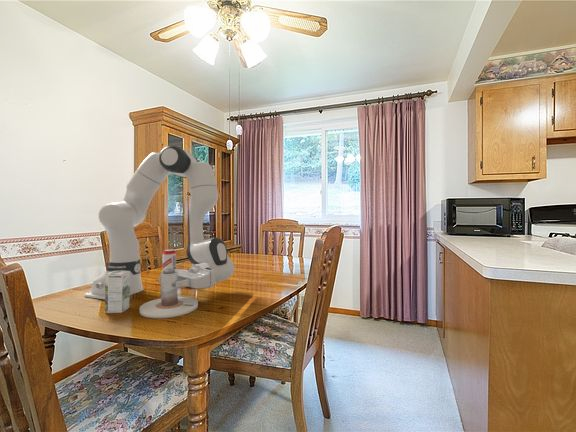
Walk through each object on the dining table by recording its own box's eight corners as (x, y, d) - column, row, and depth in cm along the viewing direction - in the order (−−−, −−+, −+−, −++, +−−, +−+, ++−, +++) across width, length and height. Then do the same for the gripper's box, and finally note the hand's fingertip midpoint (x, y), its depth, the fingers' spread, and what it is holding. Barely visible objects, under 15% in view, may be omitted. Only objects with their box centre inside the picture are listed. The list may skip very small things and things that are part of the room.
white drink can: (157, 306, 103) (157, 271, 103) (166, 301, 109) (166, 268, 108) (172, 306, 102) (172, 271, 102) (180, 301, 108) (180, 268, 107)
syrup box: (113, 311, 107) (112, 270, 106) (130, 310, 107) (129, 270, 107) (104, 316, 101) (104, 274, 101) (123, 316, 102) (122, 273, 101)
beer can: (171, 284, 144) (171, 251, 143) (160, 283, 145) (159, 250, 145) (179, 281, 150) (178, 249, 150) (167, 280, 151) (167, 248, 151)
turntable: (126, 316, 98) (126, 311, 98) (160, 299, 116) (160, 294, 116) (181, 319, 95) (181, 314, 95) (206, 301, 113) (206, 297, 113)
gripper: (182, 264, 122) (150, 270, 110) (217, 270, 110) (185, 277, 99) (182, 279, 122) (150, 287, 111) (217, 287, 110) (185, 296, 99)
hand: (167, 282), depth 104 cm, fingers open, 8 cm apart
